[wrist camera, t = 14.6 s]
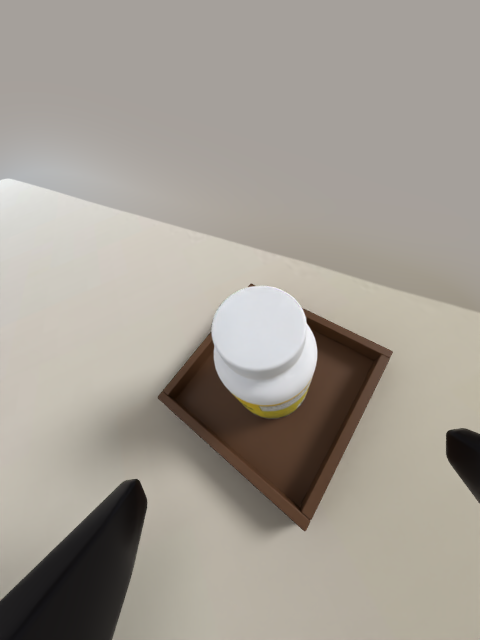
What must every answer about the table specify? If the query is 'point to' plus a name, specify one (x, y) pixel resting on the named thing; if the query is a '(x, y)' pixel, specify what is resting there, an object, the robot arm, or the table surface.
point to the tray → (290, 431)
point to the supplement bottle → (264, 350)
